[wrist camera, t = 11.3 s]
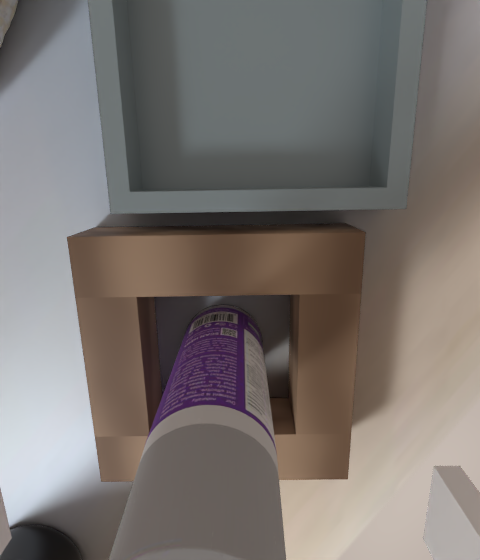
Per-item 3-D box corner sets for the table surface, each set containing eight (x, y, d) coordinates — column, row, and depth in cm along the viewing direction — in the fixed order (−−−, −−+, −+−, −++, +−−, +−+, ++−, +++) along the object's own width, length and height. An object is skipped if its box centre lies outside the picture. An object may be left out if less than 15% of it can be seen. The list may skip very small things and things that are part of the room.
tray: (128, 208, 21) (110, 213, 18) (99, -105, 17) (70, -163, 14) (383, 204, 21) (406, 208, 18) (409, -113, 17) (443, -172, 14)
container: (173, 357, 23) (59, 659, 9) (203, 291, 22) (129, 512, 8) (242, 386, 24) (243, 716, 9) (275, 323, 23) (335, 586, 8)
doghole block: (120, 440, 25) (101, 481, 21) (94, 227, 21) (66, 237, 18) (333, 437, 25) (347, 479, 21) (345, 223, 21) (365, 232, 18)
